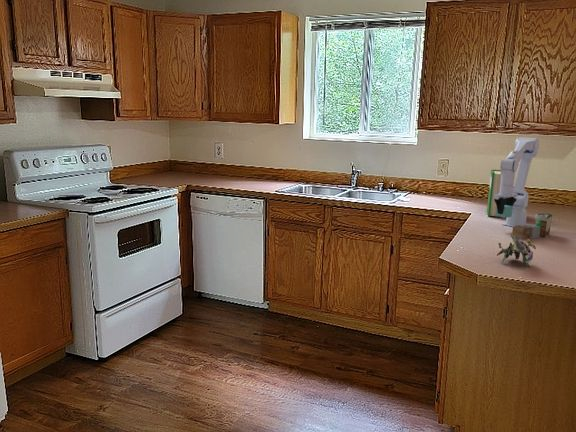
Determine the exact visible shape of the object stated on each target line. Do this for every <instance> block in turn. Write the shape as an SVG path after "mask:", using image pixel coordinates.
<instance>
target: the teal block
mask: <svg viewBox="0 0 576 432" xmlns="http://www.w3.org/2000/svg"><path fill="white" fill-rule="evenodd" d="M512 208H513V206H508V205H505V206H504V210H503V214H498V211H497V208H496V216H495V217H498V218H501V217H503V219H504V218H507V217H512Z"/></svg>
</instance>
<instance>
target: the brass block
mask: <svg viewBox="0 0 576 432" xmlns="http://www.w3.org/2000/svg"><path fill="white" fill-rule="evenodd" d="M529 231H530V228H529V227H525V226H520V225H519V226H513V227H512V232H511V235H512V234H513V235H514V236H515V238H517V237H518V238H520V239H522V240H528V239H529Z"/></svg>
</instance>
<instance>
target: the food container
mask: <svg viewBox="0 0 576 432" xmlns="http://www.w3.org/2000/svg"><path fill="white" fill-rule="evenodd" d="M552 218H553V212H543V211H542V212H537V213H536V214H535V216H534V219H535V226H540V227H541V230H540V237H539V238H543V239H546V238H547V237H548V236H549V235H550V230H551V225H552V220H553V219H552Z"/></svg>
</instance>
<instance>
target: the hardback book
mask: <svg viewBox="0 0 576 432" xmlns="http://www.w3.org/2000/svg"><path fill="white" fill-rule="evenodd" d="M500 184H501V169H490V175H489V186H488V194H487V195H488V196H487V205H486V206H487V207H486V214H487V217H488V218H490V217H497V216H496V208H497V206H496V203H495V201H494V195H496V194H499V193H500ZM503 199H504V198H503ZM500 218H501V219H504V217H500Z"/></svg>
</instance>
